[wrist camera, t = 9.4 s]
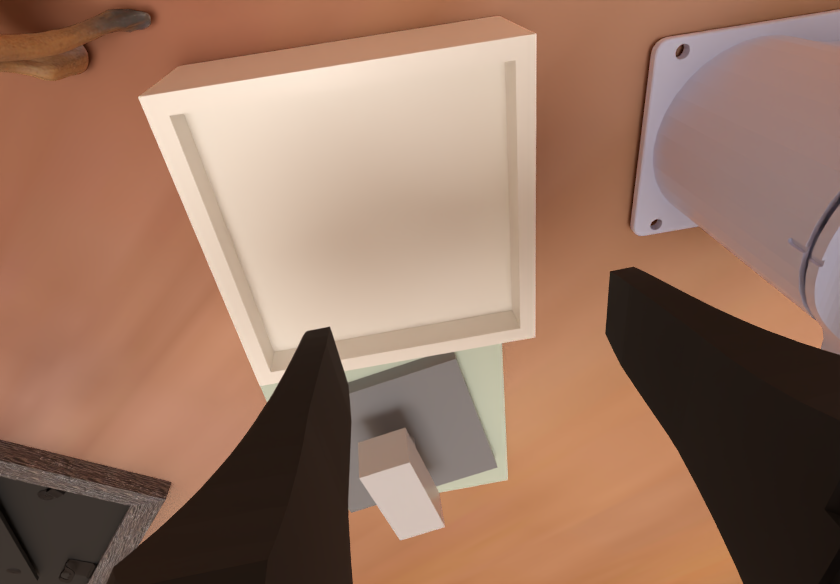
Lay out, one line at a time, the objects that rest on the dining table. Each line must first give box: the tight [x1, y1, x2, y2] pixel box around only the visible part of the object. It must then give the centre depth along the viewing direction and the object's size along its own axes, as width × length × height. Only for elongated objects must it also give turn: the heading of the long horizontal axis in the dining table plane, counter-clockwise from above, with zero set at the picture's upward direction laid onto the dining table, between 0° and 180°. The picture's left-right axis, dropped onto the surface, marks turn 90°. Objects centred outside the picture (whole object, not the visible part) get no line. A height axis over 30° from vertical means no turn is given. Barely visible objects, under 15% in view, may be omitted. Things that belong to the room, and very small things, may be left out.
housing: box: [138, 16, 536, 386], centre depth 19 cm, size 11×11×4 cm
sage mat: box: [260, 343, 508, 493], centre depth 29 cm, size 12×12×1 cm
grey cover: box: [348, 352, 498, 540], centre depth 27 cm, size 9×9×4 cm
